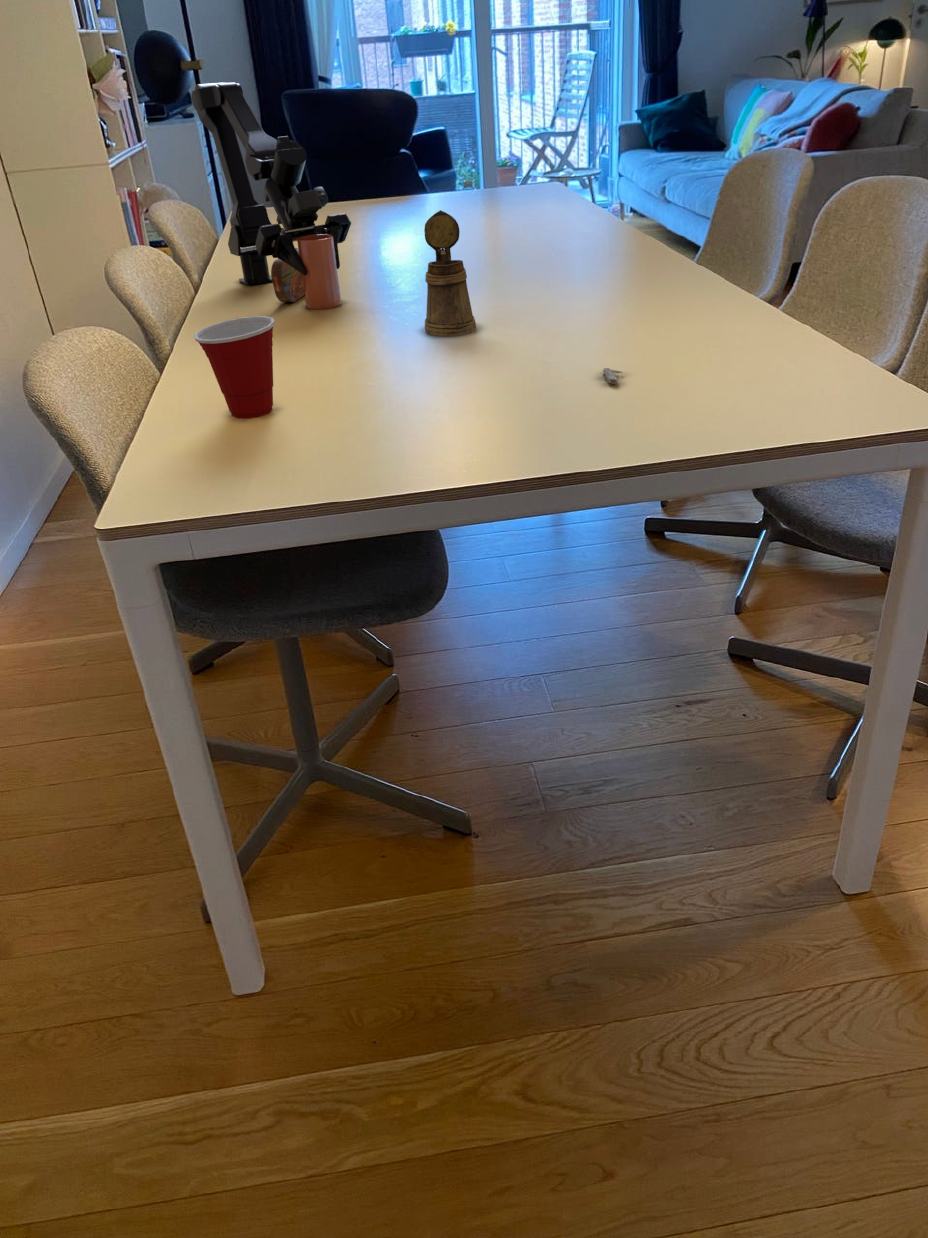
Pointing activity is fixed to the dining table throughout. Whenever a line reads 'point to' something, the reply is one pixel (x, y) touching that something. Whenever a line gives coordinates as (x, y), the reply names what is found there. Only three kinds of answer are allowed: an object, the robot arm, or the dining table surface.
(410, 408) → the dining table surface
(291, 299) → the tin
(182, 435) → the dining table surface
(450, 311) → the wooden mug
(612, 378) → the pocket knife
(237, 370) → the plastic cup
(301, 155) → the robot arm
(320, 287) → the pot
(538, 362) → the dining table surface
